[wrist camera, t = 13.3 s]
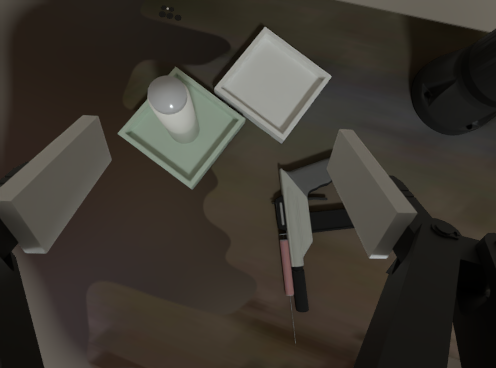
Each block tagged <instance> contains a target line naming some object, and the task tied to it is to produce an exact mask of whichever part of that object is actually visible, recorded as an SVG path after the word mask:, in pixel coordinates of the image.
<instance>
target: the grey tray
mask: <svg viewBox="0 0 496 368" xmlns="http://www.w3.org/2000/svg"><path fill="white" fill-rule="evenodd" d="M331 77H332V76H331V75H329V74H328V73H327V72H325V71H324V70H323V69H321V68H320V67H319V66H317V65H316V64H314V63H313V62H312V61H310V60H309V59H308V58H306V57H305V56H304V55H302V54H301V53H300V52H298V51H297V50H296V49H294V48H293V47H292V46H290V45H289V44H288V43H286V42H285V41H284V40H282V39H281V38H280V37H278V36H277V35H276V34H274V33H273V32H272V31H270V30H269V29H267V28H266V27H264V29H263V30H262V31H261V32H260V34H259V35H258V36H257V37H256V38H255V40H254V41H253V42H252V43H251V44H250V46H249V47H248V48H247V49H246V50H245V52H244V53H243V54H242V55H241V57H240V58H239V59H238V60H237V61H236V63H235V64H234V65H233V66H232V67H231V69H230V70H229V71H228V72H227V73H226V75H225V76H224V77H223V78H222V80H221V81H220V82H219V83H218V84H217V86H216V87H215V88H214V92H215V94H216V95H217V96H218V97H220V98H221V99H222V100H224V101H225V102H226V103H228V104H229V105H230V106H232V107H233V108H234V109H236V110H237V111H238V112H240V113H241V114H242V115H244V116H245V117H246V118H248V119H249V120H250V121H252V122H253V123H254V124H256V125H257V126H258V127H260V128H261V129H262V130H264V131H265V132H266V133H268V134H269V135H270V136H272V137H273V138H274V139H276V140H277V141H278V142H280V143H281V144H282V143H283V141H284V140H285V139H286V137H287V136H288V135H289V133H290V132H291V131H292V129H293V128H294V127H295V125H296V124H297V123H298V121H299V120H300V118H301V117H302V116H303V114H304V113H305V112H306V110H307V109H308V108H309V106H310V105H311V104H312V102H313V101H314V100H315V98H316V97H317V96H318V94H319V93H320V92H321V90H322V89H323V88H324V86H325V85H326V84H327V82H328V81H329V80H330V78H331Z"/></svg>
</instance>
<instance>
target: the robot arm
mask: <svg viewBox="0 0 496 368" xmlns="http://www.w3.org/2000/svg"><path fill="white" fill-rule="evenodd" d="M412 101H413V105H414V108H415V110H416V112H417V114H418V115H419V117H420V118H421V119H422V121H423V122H424V123H425V124H426V125H427V126H429V127H430V128H431V129H433V130H435V131H437V132H439V133H442V134H446V135H460V134H464V133H467V132H470V131H473V130H476V129H478V128H480V127H481V126H483V125H484V124H486V123H487V122H488V121H490V120H491V119H492V118H494V117H495V116H496V29H495V30H493V31H492V32H490V33H489V34H487V35H486V36H484V37H483V38H481V39H480V40H478V41H477V42H476V43H474V44H473V45H471V46H469V47H466V48H463V49H460V50H458V51H455V52H452V53H449V54H446V55H443V56H440V57H438V58H436V59H434V60H433V61H431V62H430V63H429V64H427V65H426V66H425V67H423V68H422V69H421V70H420V71H419V72H418V74H417V75H416V77H415V79H414V82H413V85H412ZM110 162H111V156H110V153H109V150H108V146H107V143H106V140H105V137H104V133H103V130H102V127H101V124H100V120H99V117H98V116H87V115H83V116H82V117H80V118H79V119H78V120H77V121H76V122H75V123H74V124H73V125H71V126H70V127H69V128H68V129H67V130H66V131H64V132H63V133H62V134H61V135H60V136H59V137H58V138H56V139H55V140H54V141H53V142H52V143H51V144H50V145H48V146H47V147H46V148H45V149H44V150H43V151H41V152H40V154H38V155H37V156H36V157H35V158H33V159H32V160H31V161H30V162H26V163H24V164H22V165H20V166H18V167H16V168H14V169H13V170H11V171H10V172H9V173H8V174H7V175H6V176H5V178H2V179H1V180H0V368H44V365H43V361H42V358H41V353H40V349H39V345H38V342H37V338H36V334H35V330H34V326H33V322H32V318H31V314H30V310H29V307H28V303H27V299H26V295H25V291H24V287H23V284H22V279H21V275H20V271H19V268H18V264H17V260H16V257H15V255H14V254H13V253H12V252H11V251H12V250H13V249H14V247H15V246H16V245H17V244H19V245H20V246H21V247H22V249H23V250H24V252H25V253H47V251H48V250H49V249H50V247H51V246H52V245H53V243H54V242H55V240H56V239H57V237H58V236H59V235H60V233H61V232H62V230H63V229H64V227H65V226H66V225H67V223H68V222H69V220H70V219H71V217H72V216H73V215H74V213H75V211H76V210H77V209H78V207H79V206H80V205H81V203H82V202H83V200H84V199H85V197H86V196H87V194H88V193H89V192H90V190H91V189H92V187H93V186H94V184H95V183H96V182H97V180H98V179H99V177H100V176H101V174H102V173H103V172H104V170H105V169H106V167H107V166H108V165H109V163H110ZM327 171H328V173H329V175H330V177H331V179H332V182H333V184H334V186H335V188H336V190H337V192H338V194H339V196H340V198H341V200H342V202H343V204H344V207H345V209H346V211H347V213H348V215H349V217H350V219H351V221H352V223H353V225H354V227H355V229H356V232H357V234H358V236H359V238H360V240H361V242H362V244H363V246H364V248H365V250H366V252H367V255H368V257H369V258H387V257H388V255H389V254H390V253H391V251H392V250H393V251H394V253H395V254H396V256H397V258H396V259H395V261H394V262H393V264H392V265H391V266H390V268H389V269H388V270H387V272H386V273H388V274H389V275H388V278H387V281H386V283H385V286H384V288H383V291H382V294H381V296H380V299H379V301H378V304H377V307H376V309H375V312H374V315H373V317H372V320H371V322H370V325H369V328H368V330H367V333H366V336H365V338H364V341H363V343H362V346H361V349H360V351H359V354H358V357H357V359H356V362H355V364H354V367H353V368H447V363H448V355H449V347H450V339H451V331H452V323H453V325H454V330H455V335H456V341H457V346H458V351H459V356H460V362H461V367H462V368H496V233H488V234H486V235H485V236H484V237H483V238H482V239H481V240H480V241H479V240H475V239H472V238H468V237H464V236H462V235H461V234H460V233H459V231H458V230H457V229H456V228H454V227H453V226H452V225H450V224H449V223H447V222H445V221H442V220H439V219H436V218H432V217H431V216H430V215H429V214H428V212H427V211H426V210H425V209H424V208H423V206H422V205H421V204H420V203H419V202H418V200H417V199H416V198H414V195H413V194H412V193H411V192H410V191H409V189H408V188H407V187H406V186H405V185H404V183H403V182H401V181H400V180H398V179H397V178H396V177H394V176H388V175H387V173H386V172H385V171H384V169H383V168H382V167H381V166H380V164H379V163H378V162H377V160H376V159H375V158H374V157H373V155H372V154H371V153H370V152H369V150H368V149H367V148H366V146H365V145H364V144H363V143H362V141H361V140H360V139H359V137H358V136H357V135H356V134H355V132H354V131H353V130H347V129H339V132H338V135H337V138H336V141H335V144H334V147H333V150H332V153H331V157H330V160H329V163H328V166H327Z"/></svg>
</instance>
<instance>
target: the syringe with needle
mask: <svg viewBox="0 0 496 368" xmlns="http://www.w3.org/2000/svg"><path fill="white" fill-rule="evenodd" d="M329 160H330V158H327V159H324V160H321V161H318V162H315V163H312V164H309V165H306V166H303V167H301V168H298V169H295V170H292V171H289V172H287V171H284V170H283V169H282V168H280V170H279V174H280V183H281V192H282V196H280V197H279V198H277V199H276V200H275V203H272V204H275V207H276V216H277V225H278V228H279V229H282V230H285V231H286V233H283V234H279V235H285V234H286V235H287V239H284V237H283V240H280V248H281V256H282V265H283V274H284V283H285V292H286V295H287V296H291V295H294V293H295V302H296V310H297V311H298V312H307V311H308V310H309V308H308V300H307V291H306V283H305V275H304V269H303V265H304V262H303V257H304V255H305V253H306V252H307V250H308V248H309V246H310V245H311V243H312V241H313V239H312V233H314V232H323V231H332V230H340V229H349V228H355V227H354V225H353V223H352V221H351V219H350V217H349V215H348V213H347V211H346V209H337V210H327V211H318V212H309V207H308V200H327V198H320V197H312V198H307V196H308V194H309V193H311V192H312V191H315V190H317V189H318V188H320V187H323V186H327V185H328V184H329V183H331V182H332V179H331V177H330V175H329V173H328V171H327V166H328V163H329ZM291 266H292V269H293V270H292V271H291ZM292 276H293V279H292ZM293 285H294V288H293ZM290 300H291V298H290ZM291 308H292V306H291ZM292 317H293V315H292ZM293 326H294V324H293ZM294 334H295V332H294ZM295 343H296V341H295Z"/></svg>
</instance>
